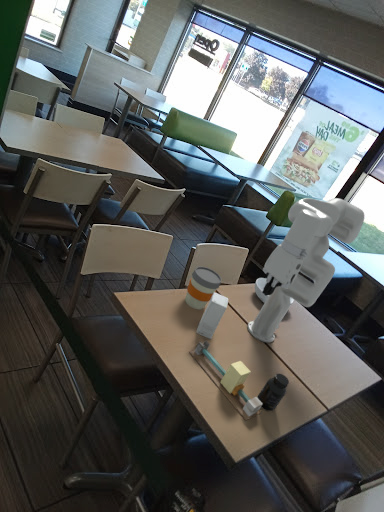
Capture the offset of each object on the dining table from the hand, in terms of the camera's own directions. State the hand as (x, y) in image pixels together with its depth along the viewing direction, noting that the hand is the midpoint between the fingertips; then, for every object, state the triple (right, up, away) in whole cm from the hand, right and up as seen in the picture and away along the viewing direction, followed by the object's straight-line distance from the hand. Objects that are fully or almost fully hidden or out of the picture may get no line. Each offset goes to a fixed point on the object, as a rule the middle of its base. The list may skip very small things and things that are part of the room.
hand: (266, 293), depth 129 cm
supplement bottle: (0, -37, +1) cm, 37 cm away
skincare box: (-20, -17, +24) cm, 35 cm away
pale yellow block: (-12, -31, +1) cm, 34 cm away
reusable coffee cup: (-24, -8, +39) cm, 46 cm away
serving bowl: (+14, -10, +68) cm, 71 cm away
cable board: (-14, -30, +3) cm, 33 cm away
